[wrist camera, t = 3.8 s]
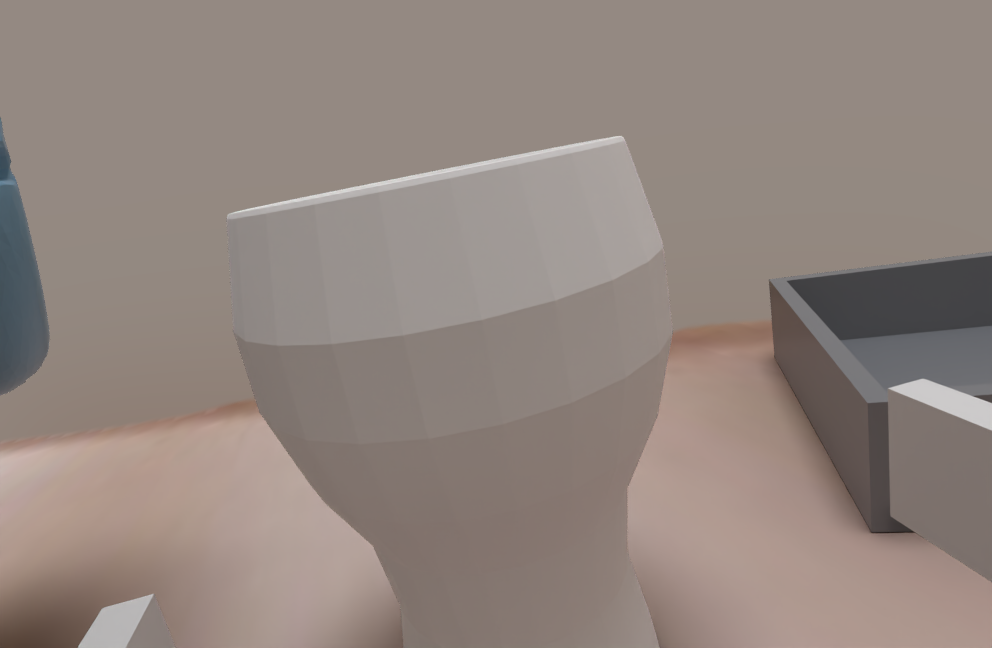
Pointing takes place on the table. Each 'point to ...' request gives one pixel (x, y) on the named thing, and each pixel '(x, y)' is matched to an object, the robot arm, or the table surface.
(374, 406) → the white ceramic vase
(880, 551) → the table surface
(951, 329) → the bin
